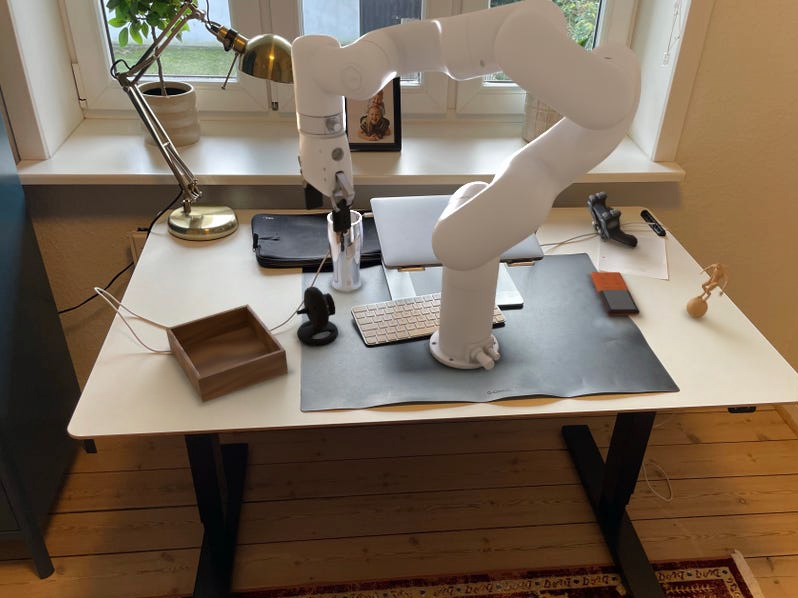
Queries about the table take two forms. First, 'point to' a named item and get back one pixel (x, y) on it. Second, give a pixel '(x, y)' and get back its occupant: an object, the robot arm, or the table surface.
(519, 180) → the robot arm
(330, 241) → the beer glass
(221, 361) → the wooden box
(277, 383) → the table surface
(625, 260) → the table surface
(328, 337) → the webcam
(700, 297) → the figurine
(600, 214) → the dark grey mechanical bracket
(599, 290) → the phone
